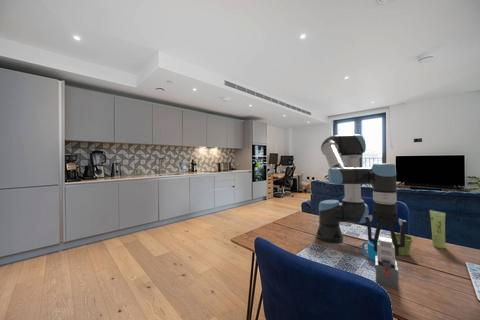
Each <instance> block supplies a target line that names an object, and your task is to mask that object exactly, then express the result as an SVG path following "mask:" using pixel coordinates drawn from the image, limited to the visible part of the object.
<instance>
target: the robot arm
mask: <svg viewBox="0 0 480 320" xmlns="http://www.w3.org/2000/svg"><path fill="white" fill-rule="evenodd" d="M366 146H367V144H366V140H365V137H364V136H363V135H361V134H360V133H359V134H357V133H355V134H354V133H351V134H337V135H336V134H335V135H334V134H333V135H331V136H329V137H326V138H325V140H324V141H323V142H322V144H321V146H320V147H321V148H320V151H321V154H322V155H323V156H325V158H326V161H327V164H328V166H329V169H328V172H327V173H328V174H327V177H328V182H329V183H330V184H333V185H344V197H343V199H341V201H342V202H340V201H339V200H338V199H326V200H321V201H320V202H319V203H318V219H319V220H318V223H319V224H318V227H317V230H316V238H317V239H318V240H320V241H322V242H327V243H333V244H334V243H336V244H337V243H342V242H343V241H344V234H343V232H342V230H341V226H340V223H347V224H348V223H349V224H350V223H353V224H365V223H366V227H367V239H368V241H371V242H373V244H374V251H375V252H377V259H378V261H380V246H379V243H378V241H379V237H380V233H381V229H382V227H387V228H388V229H389V231H390V234H391V235H392V239H393V242H394V245H393V244H392V249H393V265H395V260H396V257H398V256H399V247H405V235H406V227H407V226H408V222H407V220H405V219H401V218H399V216H398V205H397V204H396V203H398V202H397V198H398V197H397V174H398V173H397V168H396V165H395V164H394V163H387V162H386V163H373V164H372V167H371V166H369V167H361V166H360V158H361V157H362V156H363V154H364V153H365V152H366V148H367V147H366ZM362 185H372V200H373V203H372V206H373V207H372V214H370V215H369V211H370V209H369V206H368V204H366V203H365V200H364V199H362V192H361V191H362V190H361V187H362ZM373 220H374V221H375V223H377V224H376V228H375V229H376V230H375V232H374V237H372V236H373V233H372V223H371V222H372V221H373ZM397 223H398V225H399V228H400V229H399V234H400V243H397V239H396V235H395V233H396V231H395V230H394V226H395V225H396V224H397Z"/></svg>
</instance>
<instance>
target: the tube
mask: <svg viewBox="0 0 480 320" xmlns="http://www.w3.org/2000/svg"><path fill="white" fill-rule="evenodd" d="M446 215H447V214H446V212H442V211H436V210H433V209H429V217H430V227H431V236H432V237H431V239H432V240H431V241H432V246H433V247H435V248H438V249H445V248H446Z"/></svg>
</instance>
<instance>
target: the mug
mask: <svg viewBox="0 0 480 320" xmlns="http://www.w3.org/2000/svg"><path fill="white" fill-rule="evenodd" d="M378 243H379V240H378ZM365 244H367V250H366V248H365ZM361 249H362V251H363V252H364V254H365V255H367V257H368V258H369V259H371V260H372V261H375V262H376V258H375V256H377V252H375V251H374V244H373V242H371V241H369V240H368V241H364V242H362V244H361Z"/></svg>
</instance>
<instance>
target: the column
mask: <svg viewBox="0 0 480 320" xmlns="http://www.w3.org/2000/svg"><path fill="white" fill-rule="evenodd" d="M378 241H379V246H380V265H383V262H388V263H390V264H391V268H393V249H392V245H393V243H392V239H391V237H390V238H388V237H385V236H384V237H383V236H379V238H378Z"/></svg>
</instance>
